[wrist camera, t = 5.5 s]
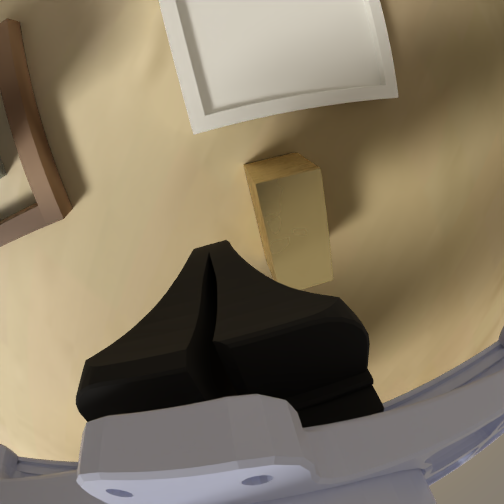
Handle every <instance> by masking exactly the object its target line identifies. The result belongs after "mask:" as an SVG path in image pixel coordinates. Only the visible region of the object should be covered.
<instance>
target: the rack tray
mask: <svg viewBox="0 0 504 504" xmlns="http://www.w3.org/2000/svg"><path fill="white" fill-rule="evenodd" d="M159 4H160V8H161V12H162V16H163V20H164V25H165V29H166V32H167V36H168V40H169V44H170V48H171V52H172V56H173V60H174V64H175V68H176V71H177V75H178V79H179V83H180V87H181V90H182V94H183V98H184V101H185V105H186V109H187V113H188V116H189V120H190V123H191V127H192V131H193V134H198V133H201V132H205V131H209V130H212V129H216V128H220V127H224V126H228V125H232V124H236V123H240V122H244V121H248V120H253V119H257V118H262V117H267V116H271V115H276V114H281V113H286V112H292V111H297V110H303V109H309V108H315V107H321V106H327V105H334V104H342V103H349V102H357V101H366V100H376V99H387V98H399V96H398V89H397V82H396V75H395V69H394V63H393V57H392V52H391V47H390V42H389V37H388V32H387V28H386V23H385V19H384V15H383V11H382V7H381V3H380V0H159Z"/></svg>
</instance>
